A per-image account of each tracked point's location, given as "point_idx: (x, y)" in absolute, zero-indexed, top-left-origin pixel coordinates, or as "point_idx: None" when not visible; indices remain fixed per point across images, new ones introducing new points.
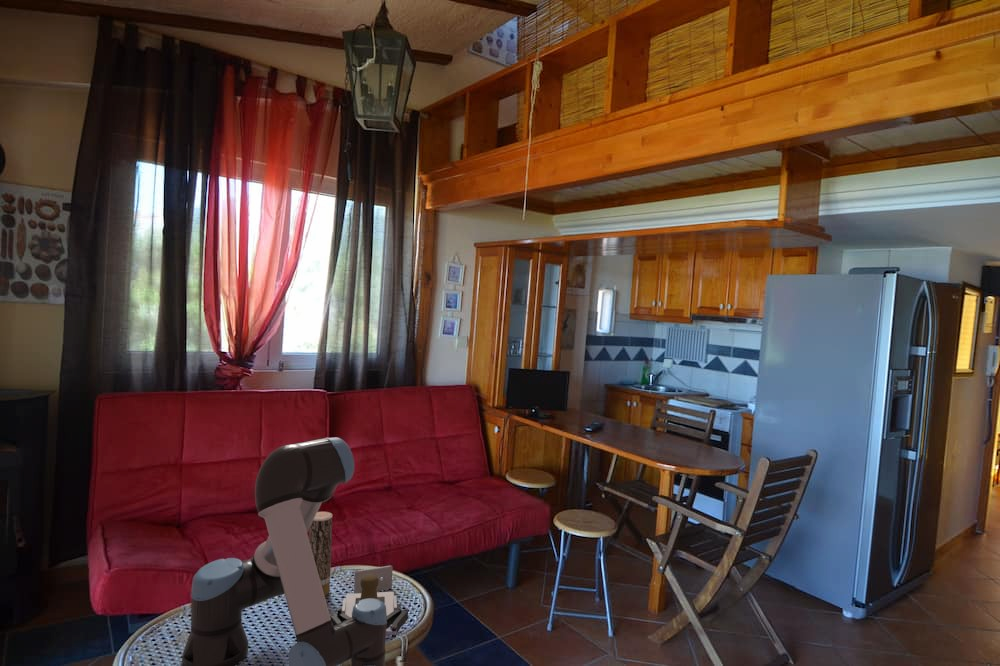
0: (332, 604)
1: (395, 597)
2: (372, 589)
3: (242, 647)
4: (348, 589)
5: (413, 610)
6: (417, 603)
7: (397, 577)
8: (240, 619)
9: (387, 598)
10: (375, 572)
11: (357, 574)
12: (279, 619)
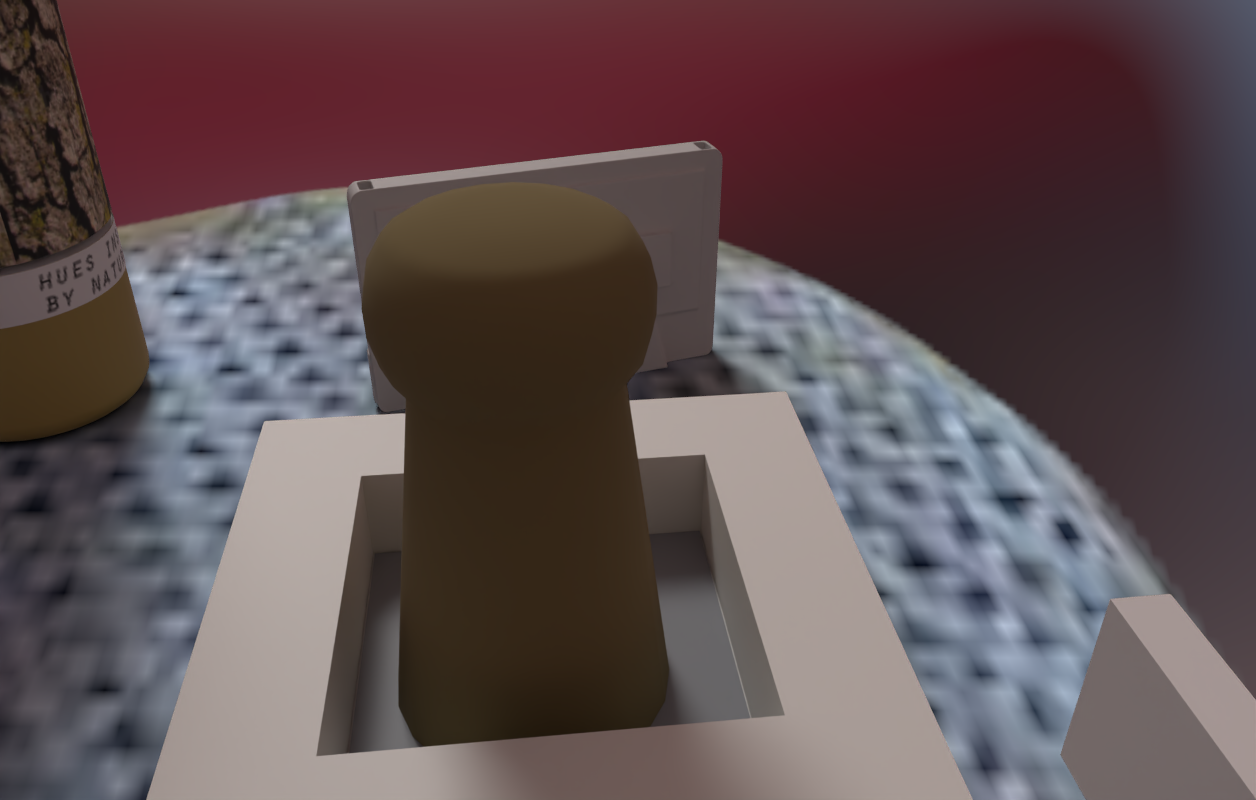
0: (141, 515)
1: (1200, 662)
2: (572, 414)
3: None
4: (329, 355)
5: (1047, 600)
6: (1033, 504)
7: (725, 259)
8: None
9: (748, 482)
10: None
11: (375, 219)
12: None
